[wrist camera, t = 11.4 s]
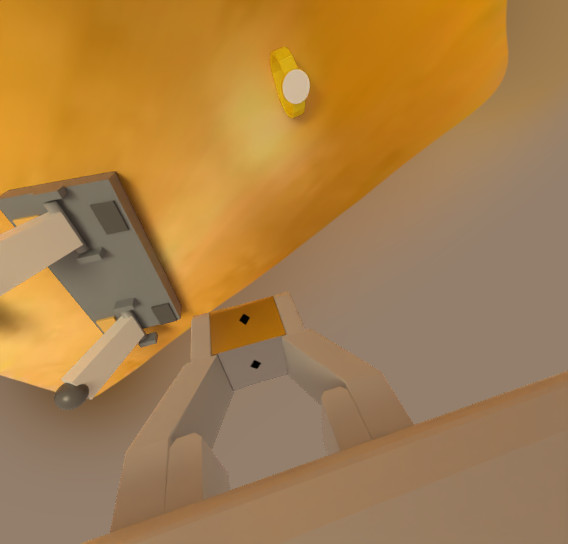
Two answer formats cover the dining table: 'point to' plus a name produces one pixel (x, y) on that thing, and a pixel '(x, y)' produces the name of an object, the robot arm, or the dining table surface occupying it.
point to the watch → (289, 82)
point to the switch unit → (103, 251)
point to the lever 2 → (99, 362)
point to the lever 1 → (37, 246)
